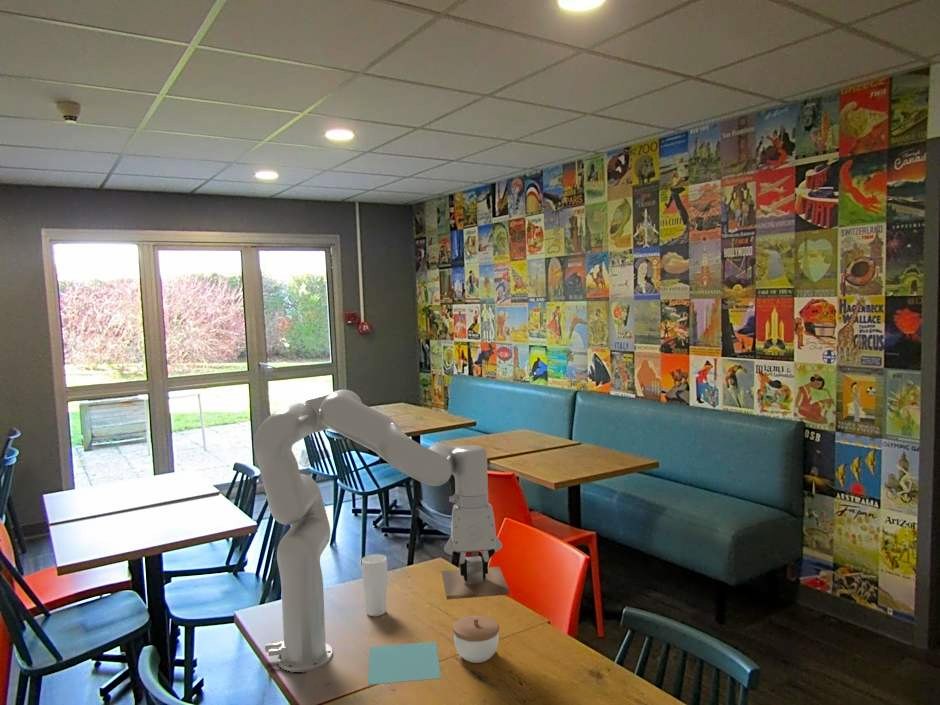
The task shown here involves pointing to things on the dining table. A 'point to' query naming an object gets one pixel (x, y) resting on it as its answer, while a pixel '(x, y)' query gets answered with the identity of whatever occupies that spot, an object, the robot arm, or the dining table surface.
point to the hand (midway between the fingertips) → (474, 576)
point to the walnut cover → (474, 581)
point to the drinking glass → (375, 583)
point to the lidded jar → (476, 637)
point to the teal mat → (403, 663)
